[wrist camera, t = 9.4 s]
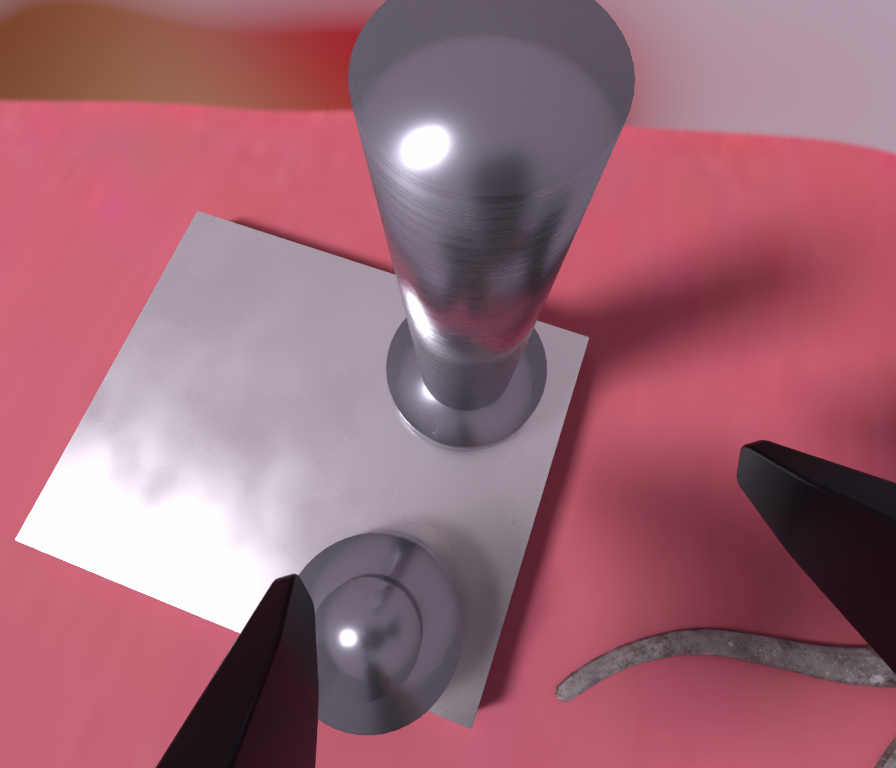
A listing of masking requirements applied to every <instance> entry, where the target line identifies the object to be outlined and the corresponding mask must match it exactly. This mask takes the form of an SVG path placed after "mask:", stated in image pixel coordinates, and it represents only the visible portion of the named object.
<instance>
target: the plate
mask: <svg viewBox="0 0 896 768" xmlns="http://www.w3.org/2000/svg"><path fill="white" fill-rule="evenodd" d="M405 318H406V313H405V309H404V306H403V302H402V298H401V294H400V290H399V286H398V282H397V278H396V275H395V274H392V273H388V272H385V271H382V270H379V269H376V268H373V267H370V266H367V265H364V264H361V263H357V262H354V261H351V260H348V259H345V258H342V257H339V256H336V255H333V254H330V253H326V252H323V251H320V250H317V249H314V248H311V247H308V246H305V245H302V244H299V243H295V242H292V241H289V240H286V239H283V238H280V237H277V236H274V235H271V234H268V233H264V232H261V231H258V230H255V229H252V228H249V227H246V226H243V225H240V224H237V223H233V222H230V221H227V220H224V219H221V218H218V217H215V216H212V215H209V214H206V213H203V212H199V211H197V213H196V214H195V216H194V218H193V220H192V222H191V223H190V225H189V227H188V229H187V231H186V232H185V234H184V236H183V238H182V240H181V242H180V243H179V245H178V247H177V249H176V251H175V252H174V254H173V256H172V258H171V260H170V261H169V263H168V265H167V267H166V269H165V270H164V272H163V274H162V276H161V278H160V279H159V281H158V283H157V285H156V287H155V288H154V290H153V292H152V294H151V296H150V297H149V299H148V301H147V303H146V305H145V307H144V308H143V310H142V312H141V314H140V316H139V317H138V319H137V321H136V323H135V325H134V326H133V328H132V330H131V332H130V334H129V335H128V337H127V339H126V341H125V343H124V344H123V346H122V348H121V350H120V352H119V353H118V355H117V357H116V359H115V361H114V363H113V364H112V366H111V368H110V370H109V372H108V373H107V375H106V377H105V379H104V381H103V382H102V384H101V386H100V388H99V390H98V391H97V393H96V395H95V397H94V399H93V400H92V402H91V404H90V406H89V408H88V409H87V411H86V413H85V415H84V417H83V418H82V420H81V422H80V424H79V426H78V428H77V429H76V431H75V433H74V435H73V437H72V438H71V440H70V442H69V444H68V446H67V447H66V449H65V451H64V453H63V455H62V456H61V458H60V460H59V462H58V464H57V465H56V467H55V469H54V471H53V473H52V474H51V476H50V478H49V480H48V482H47V484H46V485H45V487H44V489H43V491H42V493H41V494H40V496H39V498H38V500H37V502H36V503H35V505H34V507H33V509H32V511H31V512H30V514H29V516H28V518H27V520H26V521H25V523H24V525H23V527H22V529H21V530H20V532H19V534H18V536H17V538H16V539H15V540H17V541H19V542H22V543H24V544H27V545H29V546H31V547H34V548H36V549H39V550H41V551H43V552H46V553H48V554H51V555H53V556H55V557H58V558H60V559H63V560H65V561H67V562H70V563H72V564H75V565H77V566H80V567H82V568H84V569H87V570H89V571H92V572H94V573H96V574H99V575H101V576H104V577H106V578H108V579H111V580H113V581H116V582H118V583H120V584H123V585H125V586H128V587H130V588H133V589H135V590H137V591H140V592H142V593H145V594H147V595H149V596H152V597H154V598H157V599H159V600H161V601H164V602H166V603H169V604H171V605H174V606H176V607H178V608H181V609H183V610H186V611H188V612H190V613H193V614H195V615H198V616H200V617H202V618H205V619H207V620H210V621H212V622H214V623H217V624H219V625H222V626H224V627H227V628H229V629H231V630H234V631H236V632H239V633H241V631H242V630H243V628H244V627H245V625H246V623H247V622H248V620H249V619H250V617H251V615H252V614H253V612H254V611H255V609H256V607H257V606H258V604H259V603H260V601H261V600H262V598H263V596H264V595H265V593H266V592H267V590H268V588H269V587H270V585H271V584H272V582H273V581H274V580H275V579H277V578H279V577H283V576H286V575H290V574H297V575H299V574H300V572H301V571H302V570H303V569H304V567H305V566H306V565H307V564H308V563H309V562H310V561H311V560H312V559H313V558H314V557H315V556H316V555H317V554H319V553H320V552H321V551H323V550H324V549H325V548H327V547H329V546H330V545H332V544H334V543H336V542H338V541H340V540H343V539H345V538H348V537H351V536H355V535H358V534H362V533H366V532H373V531H390V532H396V533H400V534H404V535H407V536H410V537H412V538H414V539H416V540H418V541H420V542H421V543H423V544H424V545H426V546H427V547H428V548H430V549H431V550H432V551H433V552H434V553H435V554H436V555H437V556H438V557H439V558H440V559H441V560H442V562H443V563H444V564H445V566H446V567H447V569H448V570H449V572H450V574H451V576H452V578H453V580H454V583H455V585H456V588H457V591H458V595H459V599H460V604H461V613H462V643H461V651H460V655H459V659H458V663H457V666H456V669H455V671H454V674H453V676H452V678H451V680H450V682H449V684H448V686H447V688H446V689H445V691H444V692H443V694H442V695H441V697H440V698H439V699H438V701H437V702H436V703H435V704H434V705H433V706H432V707H431V708H430V709H429V710H428V711H429V712H431V713H434V714H436V715H439V716H441V717H443V718H446V719H448V720H451V721H453V722H455V723H458V724H460V725H463V726H465V727H468V728H470V729H472V726H473V723H474V720H475V716H476V713H477V710H478V706H479V703H480V700H481V696H482V693H483V690H484V686H485V683H486V680H487V676H488V673H489V670H490V667H491V663H492V660H493V657H494V653H495V650H496V647H497V643H498V640H499V637H500V633H501V630H502V627H503V623H504V620H505V617H506V613H507V610H508V607H509V603H510V600H511V597H512V593H513V590H514V587H515V583H516V580H517V577H518V573H519V570H520V567H521V563H522V560H523V557H524V553H525V550H526V547H527V543H528V540H529V537H530V533H531V530H532V527H533V523H534V520H535V517H536V513H537V510H538V507H539V503H540V500H541V497H542V493H543V490H544V487H545V483H546V480H547V477H548V473H549V470H550V467H551V463H552V460H553V457H554V453H555V450H556V447H557V443H558V440H559V437H560V433H561V430H562V427H563V423H564V420H565V417H566V413H567V410H568V407H569V403H570V400H571V397H572V393H573V390H574V387H575V383H576V380H577V377H578V373H579V370H580V367H581V363H582V360H583V357H584V353H585V350H586V347H587V343H588V340H589V337H587V336H584V335H581V334H577V333H574V332H571V331H568V330H565V329H562V328H559V327H556V326H553V325H550V324H546V323H543V322H540V321H537V322H536V324H535V326H534V328H535V330H536V331H537V333H538V335H539V337H540V339H541V341H542V344H543V347H544V350H545V354H546V360H547V378H546V384H545V388H544V392H543V395H542V397H541V400H540V402H539V404H538V406H537V407H536V409H535V411H534V412H533V413H532V415H531V416H530V417H529V419H528V420H527V421H526V422H525V423H524V425H523V426H522V427H521V428H520V429H519V430H518V431H517V432H516V433H515V434H513V435H512V436H511V437H509V438H508V439H506V440H505V441H503V442H501V443H499V444H497V445H495V446H492V447H490V448H486V449H482V450H475V451H457V450H450V449H446V448H443V447H440V446H437V445H435V444H433V443H431V442H429V441H427V440H426V439H424V438H422V437H421V436H420V435H419V434H417V433H416V432H415V431H414V430H413V429H412V428H411V427H410V426H409V425H408V424H407V422H406V421H405V419H404V418H403V417H402V415H401V413H400V412H399V410H398V408H397V406H396V405H395V403H394V401H393V399H392V396H391V393H390V391H389V387H388V382H387V375H386V361H387V355H388V350H389V347H390V344H391V341H392V338H393V336H394V334H395V332H396V331H397V329H398V328H399V326H400V325H401V323H402V322H403V321H404V320H405Z"/></svg>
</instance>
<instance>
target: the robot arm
mask: <svg viewBox="0 0 896 768" xmlns="http://www.w3.org/2000/svg"><path fill="white" fill-rule="evenodd" d="M737 480H738V483H739V485H740V487H741V489H742V490H743V492H744V493H745V494H746V496H747V497H748V498H749V500H750V501H751V503H752V504H753V505H754V507H755V508H756V509H757V511H758V512H759V514H760V515H761V516H762V518H763V519H764V520H765V522H766V523H767V525H768V526H769V527H770V529H771V530H772V531H773V533H774V534H775V536H776V537H777V538H778V540H779V541H780V542H781V544H782V545H783V546H784V548H785V549H786V550H787V552H788V553H789V554H790V555H791V556H792V558H793V559H794V560H795V561H796V562H797V564H798V565H799V566H800V567H801V568H802V569H803V570H804V571H805V573H806V574H807V575H808V576H809V577H810V578H811V579H812V581H813V582H814V583H815V584H816V585H817V586H818V587H819V588H820V590H821V591H822V592H823V593H824V594H825V595H826V596H827V598H828V599H829V600H830V601H831V602H832V603H833V604H834V606H835V607H836V608H837V609H838V610H839V611H840V612H841V613H842V615H843V616H844V617H845V618H846V619H847V620H848V621H849V623H850V624H851V625H852V626H853V627H854V628H855V629H856V630H857V632H858V633H859V634H860V635H861V636H862V637H863V638H864V640H865V641H866V642H867V643H868V644H869V645H870V646H871V647H872V649H873V650H874V651H875V652H876V653H877V654H878V655H879V657H880V658H881V659H882V660H883V661H884V662H885V663H886V665H887V666H888V667H889V668H890V669H891V670H892V671H893V672H894V674H895V675H896V483H894V482H891V481H888V480H885V479H882V478H879V477H876V476H873V475H870V474H867V473H864V472H861V471H858V470H855V469H851V468H848V467H845V466H842V465H839V464H836V463H833V462H830V461H827V460H824V459H821V458H818V457H815V456H812V455H809V454H806V453H803V452H800V451H797V450H794V449H791V448H788V447H785V446H782V445H779V444H776V443H773V442H770V441H766V440H760V441H756V442H752V443H749V444H746V445H744V446H743V447H742V448H741V451H740V456H739V463H738V469H737ZM318 706H319V684H318V663H317V644H316V624H315V609H314V604H313V600H312V598H311V596H310V594H309V593H308V591H307V589H306V587H305V585H304V583H303V582H302V580H301V578H300V577H299V575H297V574H290V575H286V576H283V577H279V578H277V579H275V580H274V581H273V582H272V584H271V585H270V587H269V588H268V590H267V592H266V593H265V595H264V596H263V598H262V600H261V601H260V603H259V604H258V606H257V607H256V609H255V611H254V612H253V614H252V615H251V617H250V619H249V620H248V622H247V623H246V625H245V627H244V628H243V630H242V631H241V633H240V634H239V636H238V638H237V639H236V641H235V642H234V644H233V646H232V647H231V649H230V650H229V652H228V654H227V655H226V657H225V658H224V660H223V662H222V663H221V665H220V666H219V668H218V669H217V671H216V673H215V674H214V676H213V677H212V679H211V681H210V682H209V684H208V685H207V687H206V689H205V690H204V692H203V693H202V695H201V696H200V698H199V700H198V701H197V703H196V704H195V706H194V708H193V709H192V711H191V712H190V714H189V716H188V717H187V719H186V720H185V722H184V724H183V725H182V727H181V728H180V730H179V731H178V733H177V735H176V736H175V738H174V739H173V741H172V743H171V744H170V746H169V747H168V749H167V751H166V752H165V754H164V755H163V757H162V758H161V760H160V762H159V763H158V765H157V766H156V768H315V762H316V744H317V725H318Z"/></svg>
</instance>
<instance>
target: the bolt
mask: <svg viewBox="0 0 896 768" xmlns="http://www.w3.org/2000/svg"><path fill="white" fill-rule="evenodd" d="M348 83H349V94H350V98H351V103H352V107H353V111H354V115H355V118H356V122H357V126H358V130H359V134H360V138H361V142H362V146H363V150H364V154H365V157H366V161H367V165H368V169H369V173H370V177H371V181H372V185H373V189H374V192H375V196H376V200H377V204H378V208H379V212H380V216H381V220H382V224H383V228H384V231H385V235H386V239H387V243H388V247H389V251H390V255H391V259H392V263H393V267H394V270H395V274H396V278H397V282H398V286H399V290H400V294H401V298H402V302H403V306H404V309H405V313H406V318H405V320H404V321H403V322H402V323H401V325H400V326H399V328H398V329H397V331H396V332H395V334H394V336H393V338H392V341H391V344H390V347H389V350H388V355H387V361H386V375H387V382H388V387H389V391H390V393H391V396H392V399H393V401H394V403H395V405H396V406H397V408H398V410H399V412H400V413H401V415H402V417H403V418H404V419H405V421H406V422H407V424H408V425H409V426H410V427H411V428H412V429H413V430H414V431H415V432H416V433H417V434H419V435H420V436H421V437H422V438H424V439H426V440H427V441H429V442H431V443H433V444H435V445H437V446H440V447H443V448H446V449H450V450H457V451H475V450H482V449H486V448H490V447H492V446H495V445H497V444H499V443H501V442H503V441H505V440H506V439H508V438H509V437H511V436H512V435H513V434H515V433H516V432H517V431H518V430H519V429H520V428H521V427H522V426H523V425H524V423H525V422H526V421H527V420H528V419H529V417H530V416H531V415H532V413H533V412H534V411H535V409H536V407H537V406H538V404H539V402H540V400H541V397H542V395H543V392H544V388H545V384H546V378H547V360H546V354H545V350H544V347H543V344H542V341H541V339H540V337H539V335H538V333H537V331H536V330H535V328H534V326H535V324H536V322H537V319H538V317H539V315H540V313H541V310H542V308H543V306H544V304H545V301H546V299H547V297H548V295H549V292H550V290H551V288H552V286H553V283H554V281H555V279H556V277H557V274H558V272H559V270H560V268H561V265H562V263H563V261H564V259H565V256H566V254H567V252H568V250H569V247H570V245H571V243H572V241H573V238H574V236H575V234H576V232H577V229H578V227H579V225H580V223H581V220H582V218H583V216H584V214H585V211H586V209H587V207H588V205H589V202H590V200H591V198H592V196H593V193H594V191H595V189H596V187H597V184H598V182H599V180H600V178H601V175H602V173H603V171H604V168H605V166H606V164H607V162H608V159H609V157H610V155H611V153H612V150H613V148H614V146H615V144H616V141H617V139H618V137H619V135H620V132H621V130H622V128H623V126H624V123H625V121H626V119H627V116H628V114H629V111H630V108H631V104H632V100H633V96H634V84H635V75H634V66H633V61H632V57H631V54H630V49H629V47H628V45H627V42H626V40H625V38H624V36H623V34H622V32H621V31H620V29H619V27H618V26H617V25H616V23H615V21H614V20H613V19H612V18H611V17H610V15H609V14H608V13H607V12H606V11H605V9H603V8H602V7H601V6H600V5H599V4H598V3H597V2H596V1H594V0H387V1H386V2H385V3H384V4H383V5H382V6H380V8H378V9H377V10H376V12H375V13H374V14H373V15H372V16H371V18H370V19H369V20H368V21H367V23H366V24H365V26H364V28H363V29H362V31H361V33H360V34H359V36H358V38H357V41H356V43H355V46H354V48H353V51H352V55H351V59H350V63H349V74H348Z"/></svg>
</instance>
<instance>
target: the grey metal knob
mask: <svg viewBox="0 0 896 768" xmlns="http://www.w3.org/2000/svg"><path fill="white" fill-rule="evenodd" d="M299 577H300V578H301V580H302V582H303V583H304V585H305V587H306V589H307V591H308V593H309V594H310V596H311V598H312V600H313V604H314V609H315V624H316V644H317V663H318V684H319V706H318V719H319V720H320V721H322V722H323V723H325V724H327V725H329V726H331V727H333V728H334V729H337V730H340V731H343V732H346V733H351V734H357V735H377V734H384V733H388V732H391V731H395V730H398V729H400V728H402V727H404V726H407V725H409V724H410V723H412V722H414V721H415V720H417V719H418V718H420V717H421V716H422V715H423V714H424V713H426V712H427V711H428V710H429V709H430V708H431V707H432V706H433V705H434V704H435V703H436V702H437V701H438V699H439V698H440V697H441V695H442V694H443V692H444V691H445V689H446V688H447V686H448V684H449V682H450V680H451V678H452V676H453V674H454V671H455V669H456V666H457V663H458V659H459V655H460V651H461V643H462V613H461V604H460V599H459V595H458V591H457V588H456V585H455V583H454V580H453V578H452V576H451V574H450V572H449V570H448V569H447V567H446V566H445V564H444V563H443V562H442V560H441V559H440V558H439V557H438V556H437V555H436V554H435V553H434V552H433V551H432V550H431V549H430V548H428V547H427V546H426V545H424V544H423V543H421V542H420V541H418V540H416V539H414V538H412V537H410V536H407V535H404V534H400V533H396V532H390V531H373V532H366V533H362V534H358V535H355V536H351V537H348V538H345V539H343V540H340V541H338V542H336V543H334V544H332V545H330V546H329V547H327V548H325V549H324V550H323V551H321V552H320V553H319V554H317V555H316V556H315V557H314V558H313V559H312V560H311V561H310V562H309V563H308V564H307V565H306V566H305V567H304V569H303V570H302V571H301V572H300V574H299Z"/></svg>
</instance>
